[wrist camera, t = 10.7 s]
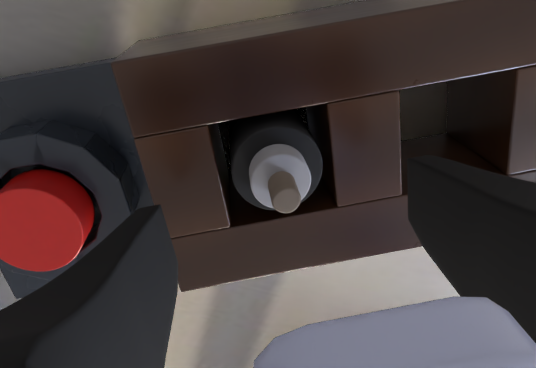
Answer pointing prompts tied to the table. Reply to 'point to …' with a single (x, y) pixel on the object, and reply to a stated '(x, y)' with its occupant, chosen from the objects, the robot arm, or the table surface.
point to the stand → (325, 123)
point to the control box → (71, 148)
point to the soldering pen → (274, 160)
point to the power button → (43, 220)
